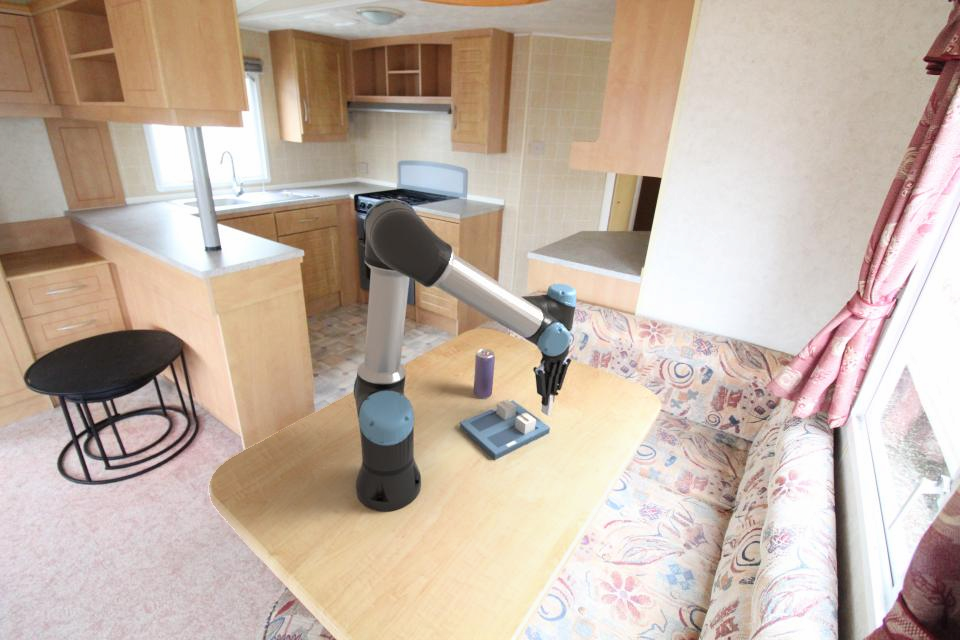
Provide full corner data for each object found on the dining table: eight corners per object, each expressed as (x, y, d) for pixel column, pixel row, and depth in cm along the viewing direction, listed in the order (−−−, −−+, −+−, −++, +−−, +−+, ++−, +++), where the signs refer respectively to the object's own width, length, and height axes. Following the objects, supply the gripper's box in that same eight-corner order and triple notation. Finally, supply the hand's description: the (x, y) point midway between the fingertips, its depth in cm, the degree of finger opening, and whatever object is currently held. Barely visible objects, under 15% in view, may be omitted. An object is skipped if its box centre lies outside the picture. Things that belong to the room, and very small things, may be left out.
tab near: (524, 434, 129) (525, 422, 127) (514, 427, 132) (516, 415, 130) (534, 429, 131) (536, 417, 129) (525, 422, 134) (526, 410, 132)
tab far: (504, 420, 134) (506, 408, 132) (496, 413, 137) (497, 401, 135) (515, 415, 136) (516, 404, 135) (506, 408, 139) (507, 397, 138)
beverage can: (491, 400, 146) (495, 358, 140) (473, 398, 146) (475, 357, 140) (491, 389, 151) (495, 349, 145) (473, 388, 151) (476, 348, 145)
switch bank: (495, 460, 121) (495, 453, 120) (459, 427, 132) (460, 421, 132) (549, 433, 132) (550, 427, 132) (512, 405, 144) (513, 399, 143)
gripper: (548, 352, 119) (539, 427, 129) (582, 340, 126) (571, 411, 136) (528, 341, 124) (521, 413, 134) (562, 330, 131) (552, 399, 141)
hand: (546, 412), depth 135 cm, fingers closed
